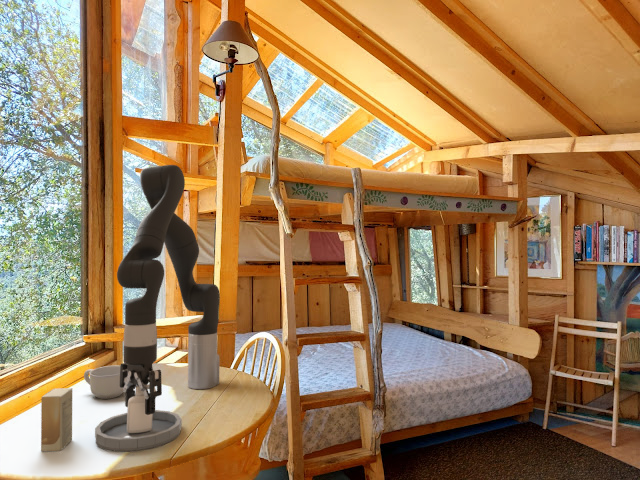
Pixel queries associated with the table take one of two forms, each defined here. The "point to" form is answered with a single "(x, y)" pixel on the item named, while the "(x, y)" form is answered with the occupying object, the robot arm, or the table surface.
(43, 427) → the skincare box
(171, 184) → the robot arm
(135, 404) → the eye dropper bottle
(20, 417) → the table surface
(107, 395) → the teacup
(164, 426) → the round tray
